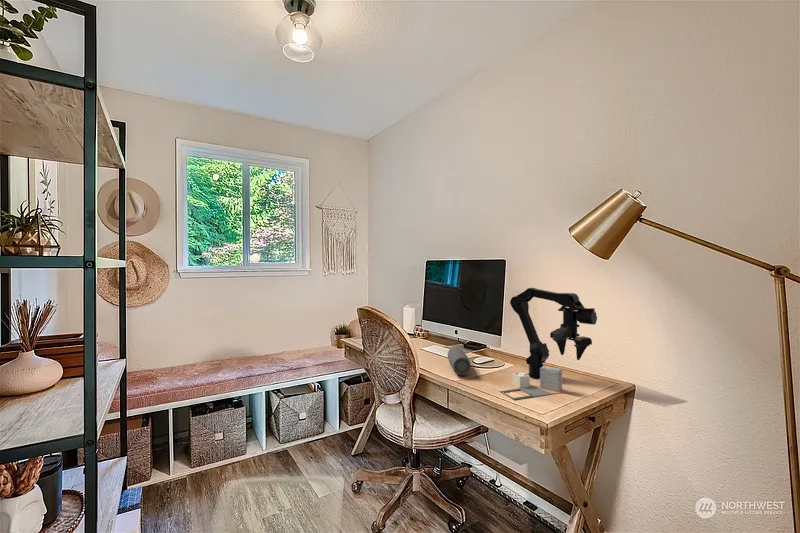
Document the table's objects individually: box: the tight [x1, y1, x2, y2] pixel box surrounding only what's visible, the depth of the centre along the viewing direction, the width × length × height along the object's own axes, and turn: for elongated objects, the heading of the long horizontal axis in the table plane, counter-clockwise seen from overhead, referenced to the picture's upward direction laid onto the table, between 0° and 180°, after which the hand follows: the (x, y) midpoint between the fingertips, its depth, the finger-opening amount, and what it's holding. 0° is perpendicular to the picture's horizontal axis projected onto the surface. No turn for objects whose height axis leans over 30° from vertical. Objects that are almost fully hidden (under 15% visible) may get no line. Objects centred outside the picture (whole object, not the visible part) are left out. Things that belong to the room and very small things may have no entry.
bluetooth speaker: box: [447, 346, 472, 376], centre depth 190 cm, size 23×9×10 cm, turn 0°
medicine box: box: [539, 365, 563, 392], centre depth 162 cm, size 8×4×9 cm, turn 48°
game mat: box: [499, 385, 569, 401], centre depth 159 cm, size 10×27×1 cm, turn 110°
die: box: [512, 372, 531, 389], centre depth 167 cm, size 5×5×5 cm
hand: (570, 357), depth 168 cm, fingers open, 9 cm apart
